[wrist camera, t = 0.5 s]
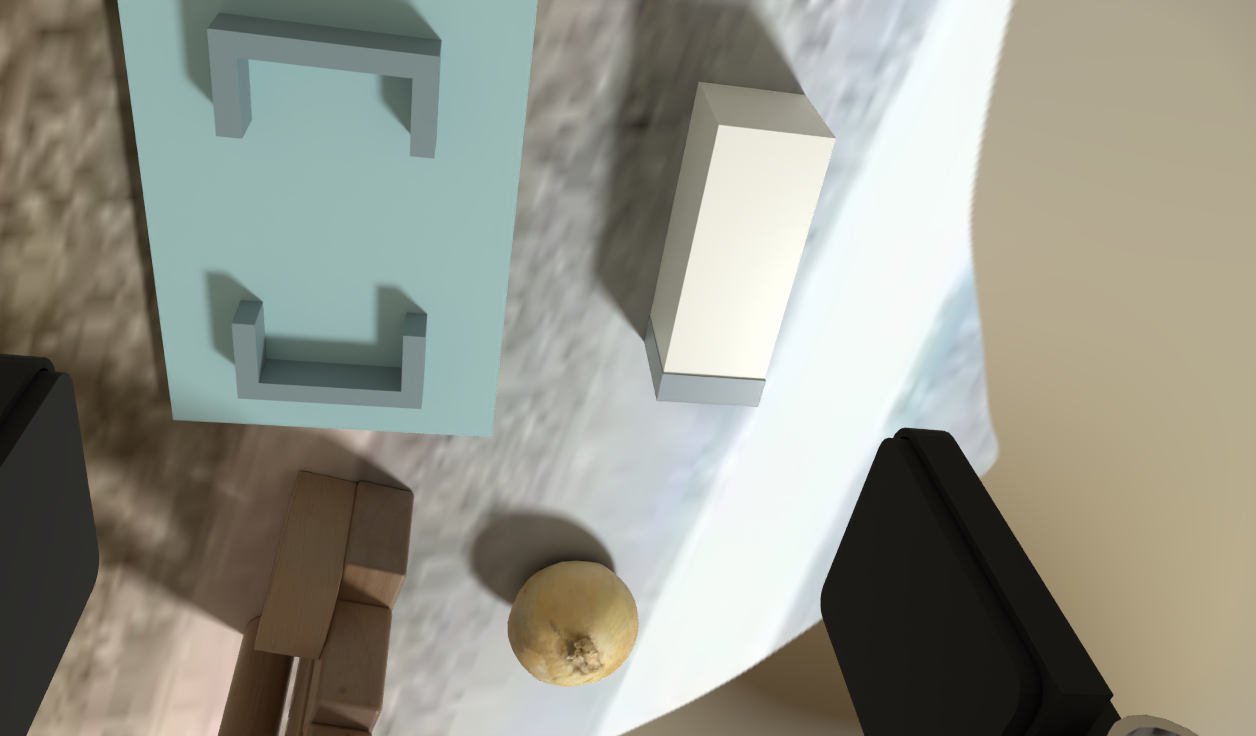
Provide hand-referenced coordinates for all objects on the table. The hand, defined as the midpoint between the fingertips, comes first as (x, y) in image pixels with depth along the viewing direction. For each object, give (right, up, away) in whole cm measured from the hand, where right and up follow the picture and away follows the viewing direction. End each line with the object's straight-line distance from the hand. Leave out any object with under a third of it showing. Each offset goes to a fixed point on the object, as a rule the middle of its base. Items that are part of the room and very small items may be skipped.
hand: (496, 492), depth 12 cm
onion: (-2, -12, +51) cm, 52 cm away
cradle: (-12, +9, +34) cm, 37 cm away
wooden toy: (-17, -10, +47) cm, 51 cm away
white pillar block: (+6, +8, +36) cm, 38 cm away
